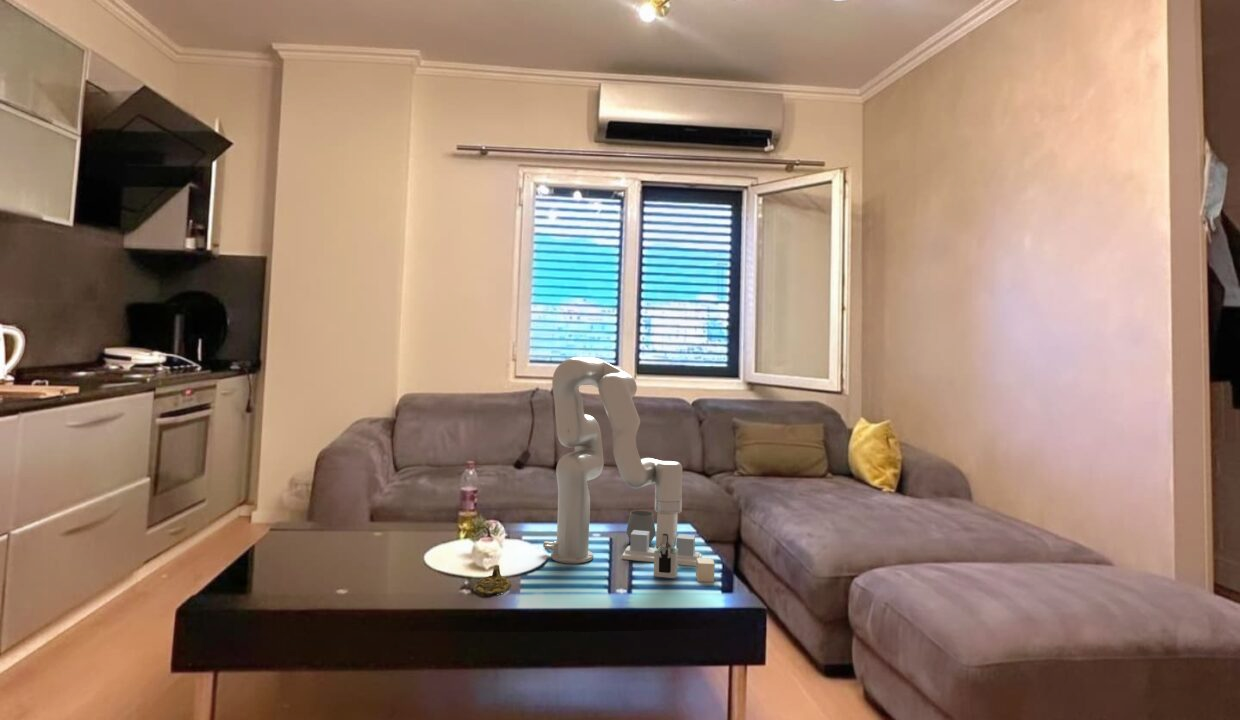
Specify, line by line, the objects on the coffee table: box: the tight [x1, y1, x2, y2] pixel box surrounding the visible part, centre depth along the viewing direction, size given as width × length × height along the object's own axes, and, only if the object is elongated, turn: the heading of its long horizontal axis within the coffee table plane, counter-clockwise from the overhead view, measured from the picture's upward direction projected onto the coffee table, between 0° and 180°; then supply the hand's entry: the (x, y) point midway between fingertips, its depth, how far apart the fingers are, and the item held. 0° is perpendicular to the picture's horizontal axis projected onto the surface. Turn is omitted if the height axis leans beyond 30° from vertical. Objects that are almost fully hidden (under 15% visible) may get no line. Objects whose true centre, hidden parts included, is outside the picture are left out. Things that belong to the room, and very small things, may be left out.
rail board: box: [621, 530, 703, 567], centre depth 205 cm, size 23×9×7 cm, turn 79°
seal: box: [472, 564, 512, 598], centre depth 175 cm, size 9×5×15 cm
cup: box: [626, 510, 656, 545], centre depth 220 cm, size 10×9×10 cm
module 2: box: [695, 557, 716, 583], centre depth 187 cm, size 4×5×5 cm
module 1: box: [653, 547, 678, 579], centre depth 189 cm, size 6×4×7 cm
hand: (667, 567), depth 189 cm, fingers open, 9 cm apart
